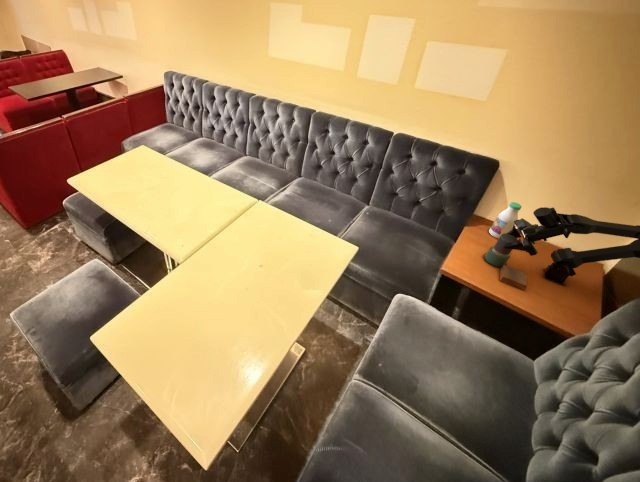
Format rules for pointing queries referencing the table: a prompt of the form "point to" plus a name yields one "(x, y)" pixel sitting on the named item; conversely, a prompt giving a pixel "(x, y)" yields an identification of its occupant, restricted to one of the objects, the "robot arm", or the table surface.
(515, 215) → the milk bottle
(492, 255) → the green cylinder
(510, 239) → the cap
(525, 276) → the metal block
